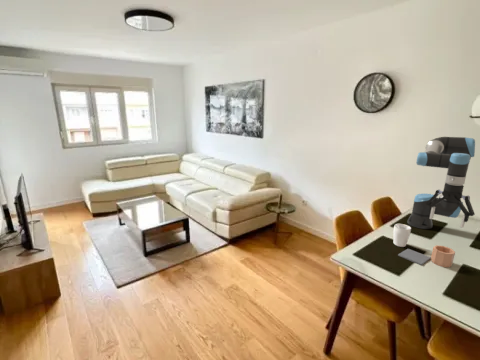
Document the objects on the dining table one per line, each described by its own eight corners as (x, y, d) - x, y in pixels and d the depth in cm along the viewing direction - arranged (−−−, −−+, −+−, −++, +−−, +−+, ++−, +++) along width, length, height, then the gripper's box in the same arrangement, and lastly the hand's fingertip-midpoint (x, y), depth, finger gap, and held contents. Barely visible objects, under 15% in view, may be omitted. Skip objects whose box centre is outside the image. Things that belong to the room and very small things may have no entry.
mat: (407, 249, 156) (407, 248, 156) (430, 258, 147) (430, 257, 146) (397, 255, 150) (398, 254, 149) (421, 265, 140) (421, 264, 140)
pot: (435, 256, 149) (437, 244, 147) (453, 263, 142) (457, 250, 140) (428, 261, 144) (431, 248, 142) (447, 269, 137) (450, 255, 135)
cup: (410, 248, 157) (413, 230, 154) (394, 247, 159) (397, 229, 156) (404, 241, 166) (407, 224, 163) (389, 240, 168) (392, 222, 165)
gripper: (423, 179, 141) (416, 216, 146) (483, 190, 120) (473, 233, 126) (429, 177, 145) (422, 213, 150) (489, 188, 124) (478, 229, 130)
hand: (445, 222), depth 138 cm, fingers open, 13 cm apart
